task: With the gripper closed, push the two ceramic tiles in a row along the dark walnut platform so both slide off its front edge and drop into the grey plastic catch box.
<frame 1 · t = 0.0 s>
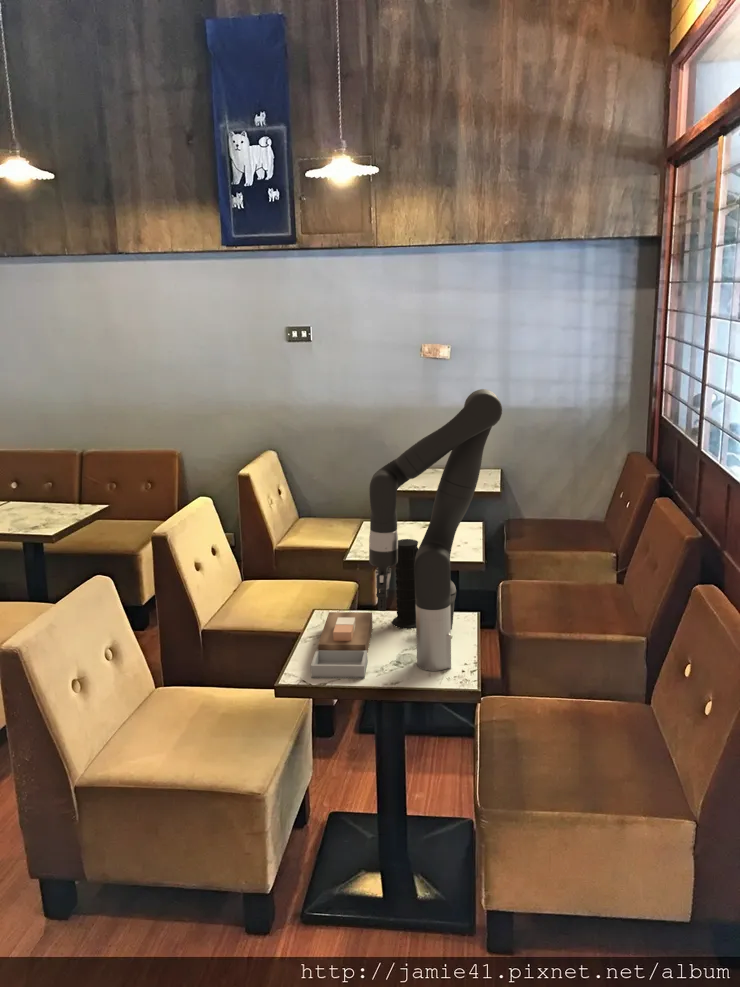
hand: (383, 604, 217), 17 cm above the table, tool pointing down, fingers open, 8 cm apart
terracotta tile: (343, 637, 227), point 5 cm above the table, touching walnut platform
walnut platform: (346, 643, 235), on the table
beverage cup: (444, 628, 243), on the table
catch box: (340, 670, 219), on the table
cream tile: (345, 629, 233), point 5 cm above the table, touching walnut platform
handle grip: (408, 622, 249), on the table
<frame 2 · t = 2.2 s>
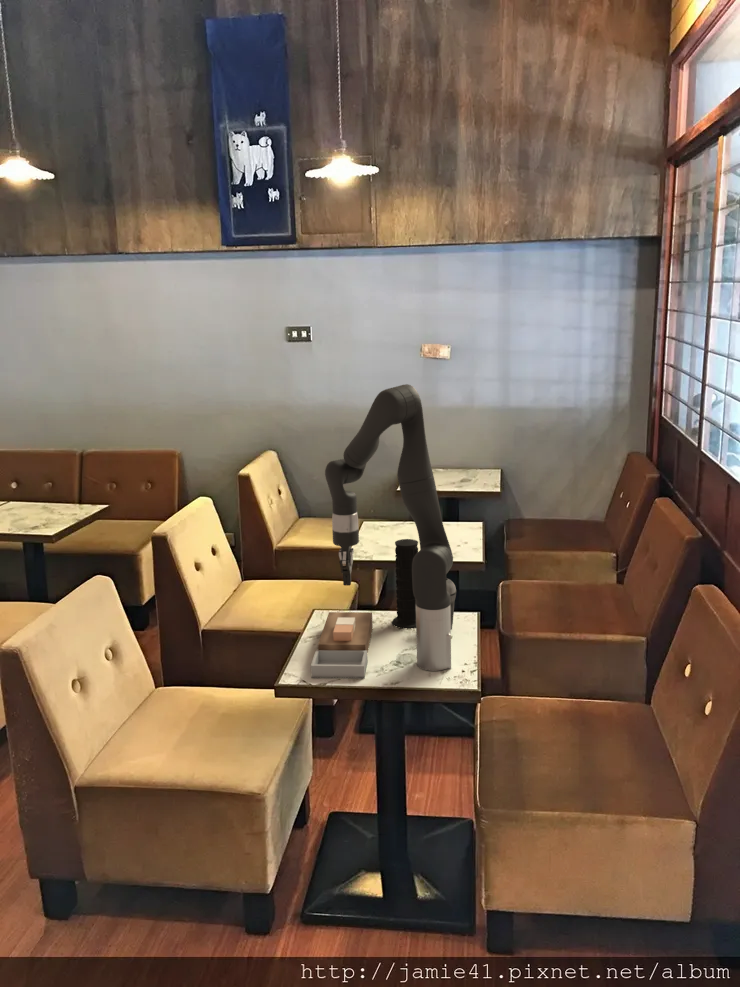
hand: (347, 584, 238), 15 cm above the table, tool pointing down, fingers closed
nothing on the table moved.
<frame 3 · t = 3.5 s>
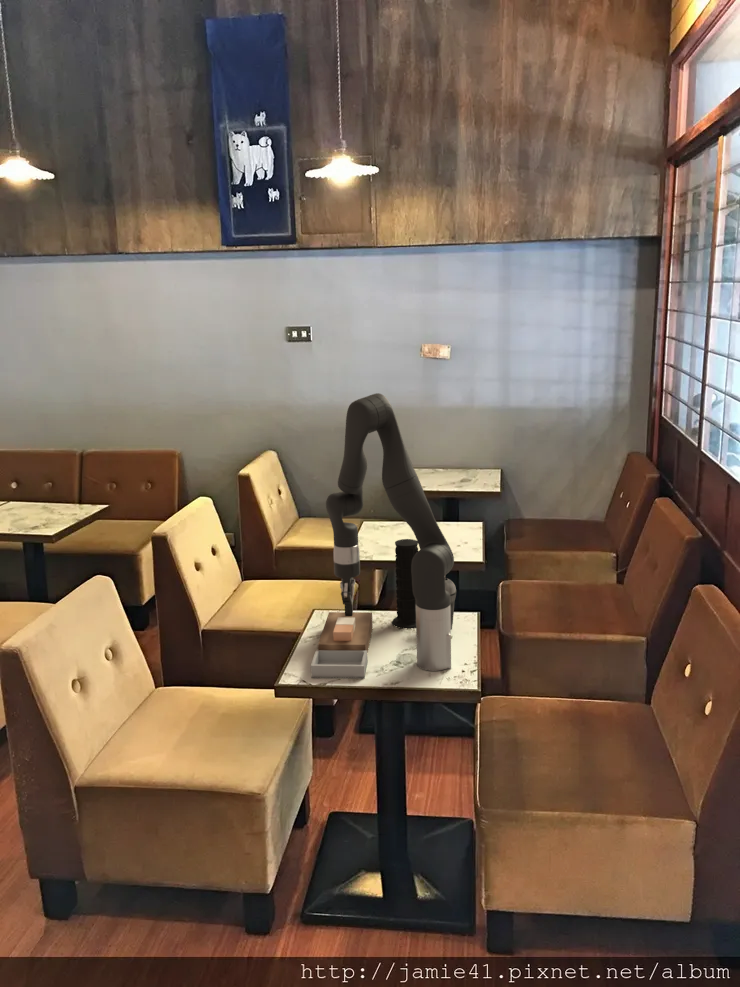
hand: (349, 615, 240), 6 cm above the table, tool pointing down, fingers closed
nothing on the table moved.
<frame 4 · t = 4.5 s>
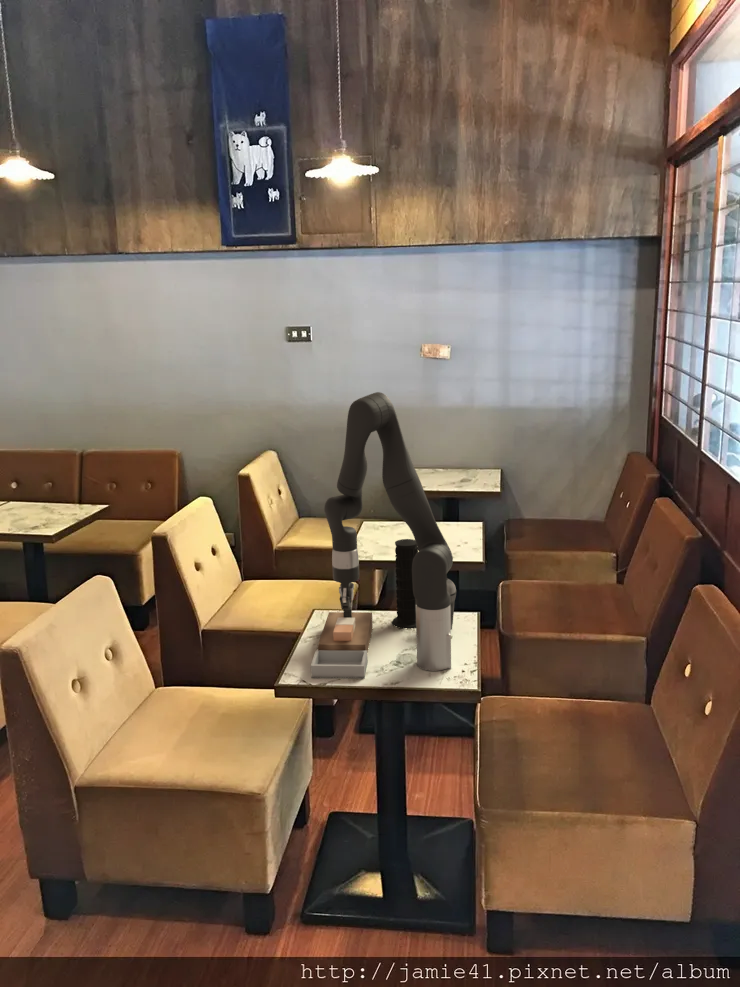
hand: (347, 620, 236), 6 cm above the table, tool pointing down, fingers closed
cream tile: (345, 629, 232), point 5 cm above the table, touching gripper
everything else where it was.
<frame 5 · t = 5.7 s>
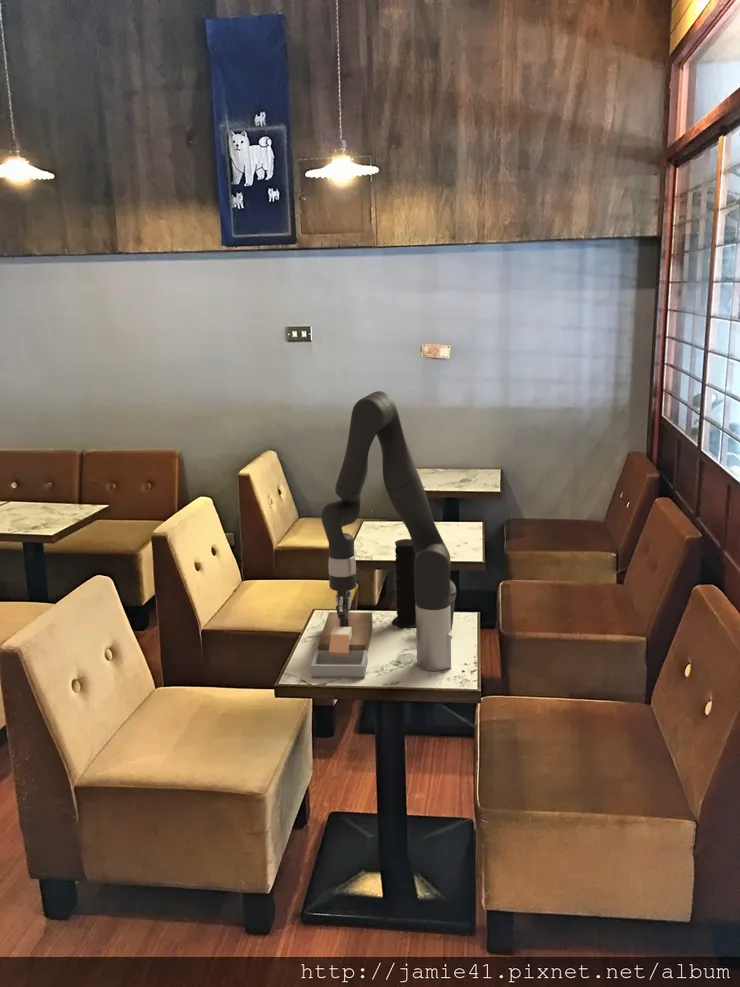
hand: (344, 629, 230), 6 cm above the table, tool pointing down, fingers closed
terracotta tile: (340, 648, 222), point 4 cm above the table, tilted 40°
cream tile: (341, 638, 226), point 5 cm above the table, touching gripper
everything else where it was.
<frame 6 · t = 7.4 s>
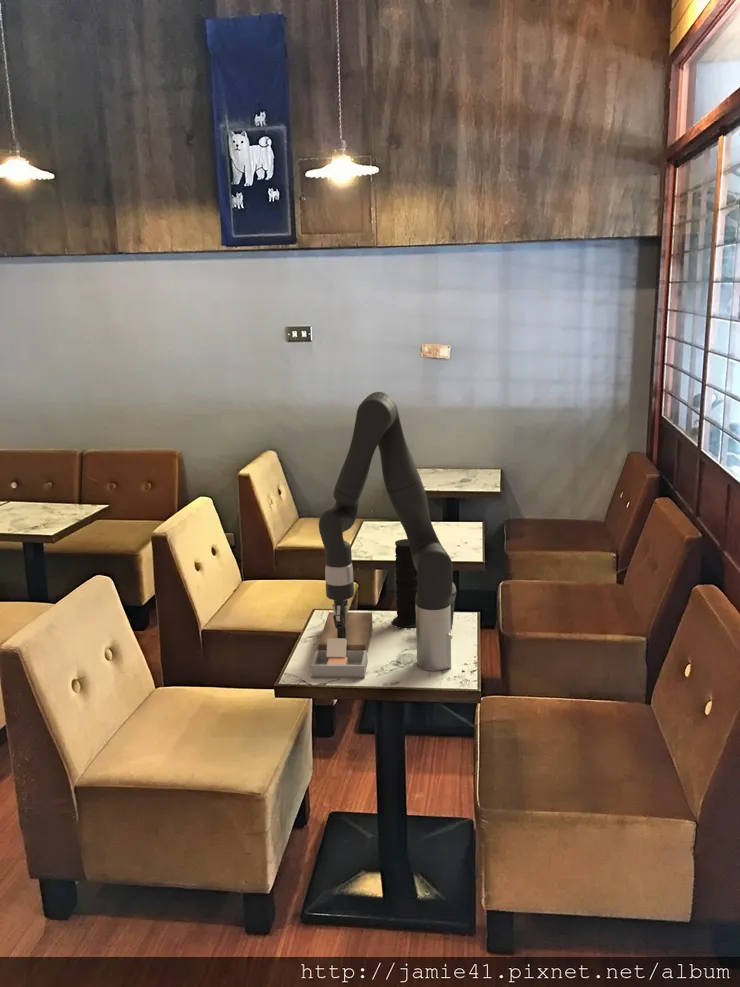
hand: (342, 639, 223), 6 cm above the table, tool pointing down, fingers closed
terracotta tile: (337, 661, 217), point 3 cm above the table, tilted 180°, touching catch box, cream tile
cream tile: (337, 649, 222), point 4 cm above the table, tilted 51°, touching gripper, terracotta tile
everything else where it was.
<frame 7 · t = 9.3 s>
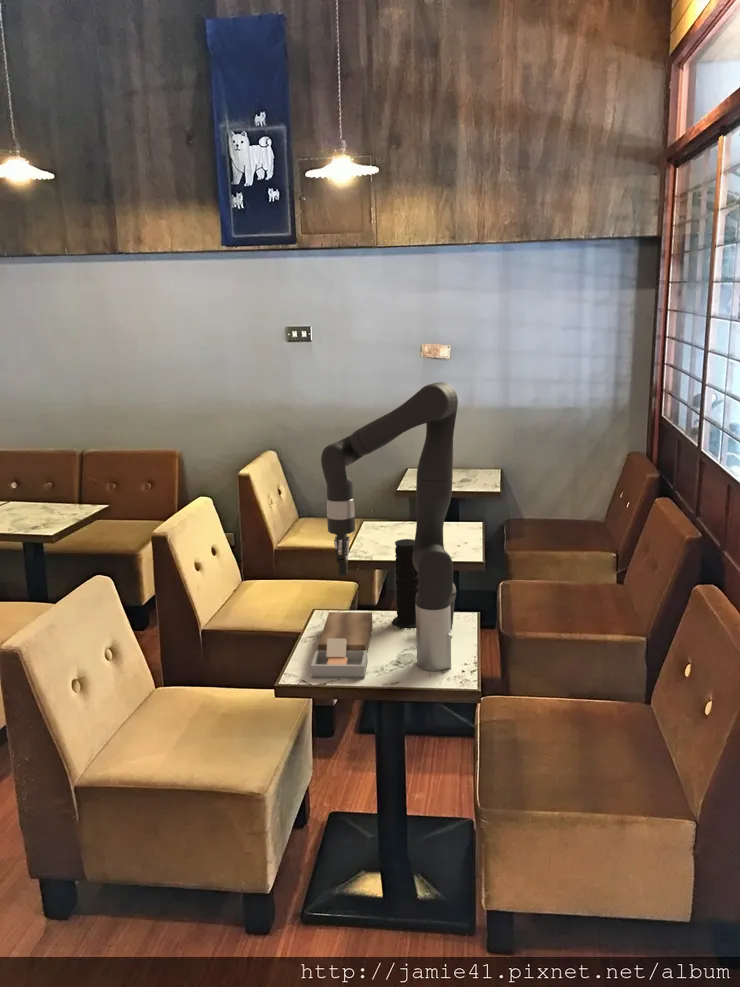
hand: (343, 574, 227), 22 cm above the table, tool pointing down, fingers closed
cream tile: (337, 649, 222), point 4 cm above the table, tilted 51°, touching terracotta tile, walnut platform
everything else where it was.
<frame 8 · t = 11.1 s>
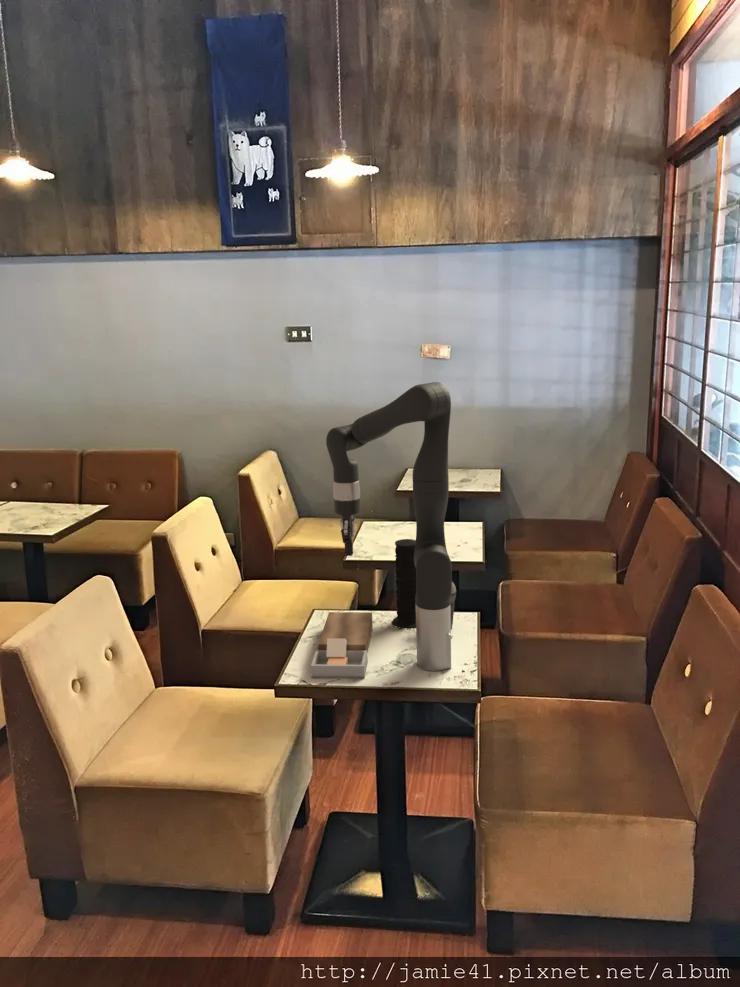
hand: (349, 554, 234), 25 cm above the table, tool pointing down, fingers closed
nothing on the table moved.
at the end: terracotta tile inside the target area on the catch box (1.4 cm from its centre), point 3.1 cm above the catch box's base; cream tile inside the target area on the catch box (4.3 cm from its centre), point 3.8 cm above the catch box's base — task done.
